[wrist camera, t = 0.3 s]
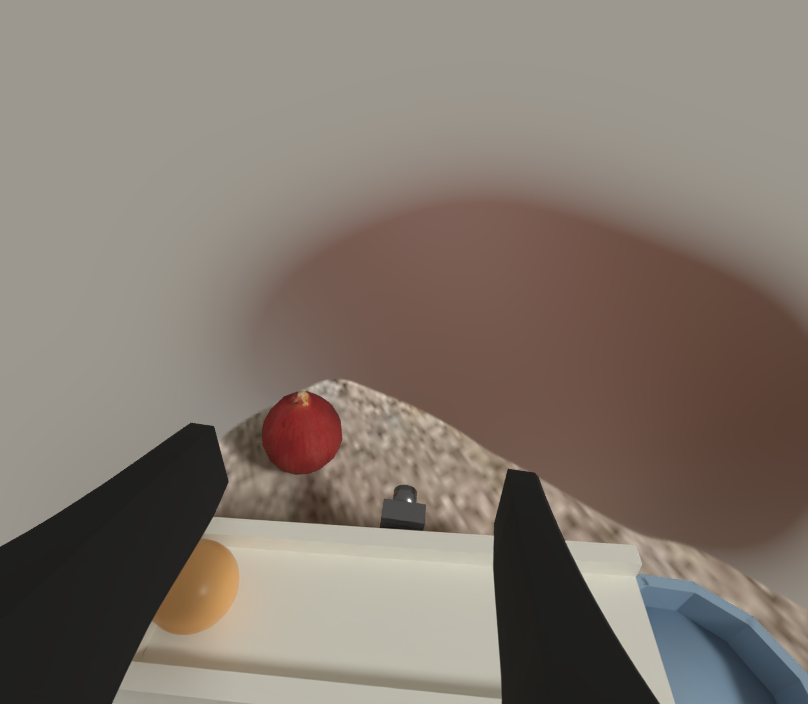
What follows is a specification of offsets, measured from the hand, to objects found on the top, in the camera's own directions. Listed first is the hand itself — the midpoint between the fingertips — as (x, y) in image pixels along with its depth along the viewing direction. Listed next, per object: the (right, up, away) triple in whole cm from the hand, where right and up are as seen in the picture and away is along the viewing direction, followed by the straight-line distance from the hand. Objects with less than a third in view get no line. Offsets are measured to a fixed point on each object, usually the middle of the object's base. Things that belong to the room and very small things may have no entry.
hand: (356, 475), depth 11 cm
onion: (-7, -6, +25) cm, 26 cm away
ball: (-9, -8, +10) cm, 15 cm away
